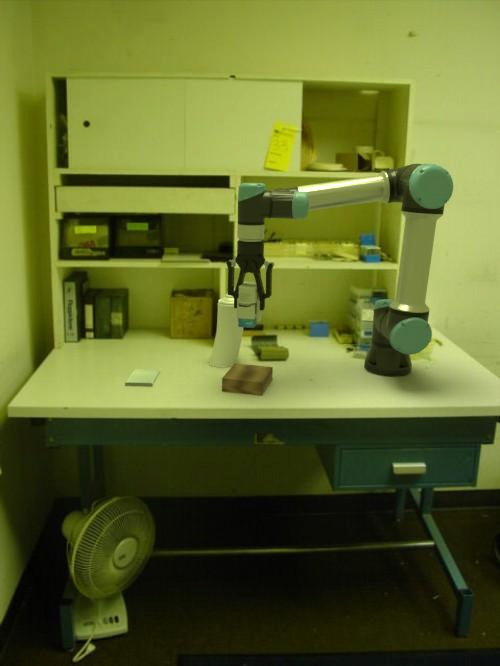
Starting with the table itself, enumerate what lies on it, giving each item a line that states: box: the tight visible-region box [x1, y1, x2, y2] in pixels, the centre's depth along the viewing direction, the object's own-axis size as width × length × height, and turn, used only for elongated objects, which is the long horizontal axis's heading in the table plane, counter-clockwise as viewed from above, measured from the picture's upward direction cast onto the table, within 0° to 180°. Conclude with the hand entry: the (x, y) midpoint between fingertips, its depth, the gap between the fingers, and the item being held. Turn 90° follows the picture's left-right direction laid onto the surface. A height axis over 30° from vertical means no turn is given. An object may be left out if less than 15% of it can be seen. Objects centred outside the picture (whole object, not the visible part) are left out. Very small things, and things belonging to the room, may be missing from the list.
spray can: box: [209, 287, 244, 368], centre depth 201 cm, size 12×11×25 cm
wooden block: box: [221, 362, 274, 396], centre depth 183 cm, size 12×14×4 cm
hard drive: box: [124, 368, 161, 388], centre depth 187 cm, size 2×8×12 cm
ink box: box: [238, 281, 259, 329], centre depth 177 cm, size 8×5×12 cm, turn 168°
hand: (249, 320), depth 178 cm, fingers closed on ink box, 5 cm apart
